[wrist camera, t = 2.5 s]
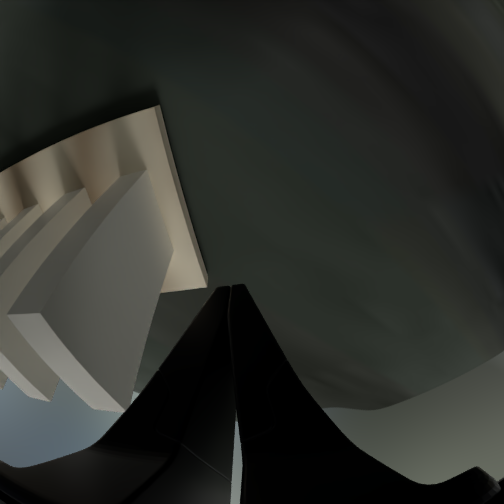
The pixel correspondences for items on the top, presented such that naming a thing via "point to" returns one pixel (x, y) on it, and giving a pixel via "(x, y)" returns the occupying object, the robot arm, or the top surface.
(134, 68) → the top surface
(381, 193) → the top surface
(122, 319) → the domino
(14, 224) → the domino
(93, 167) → the beige flat rectangular board
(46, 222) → the domino
